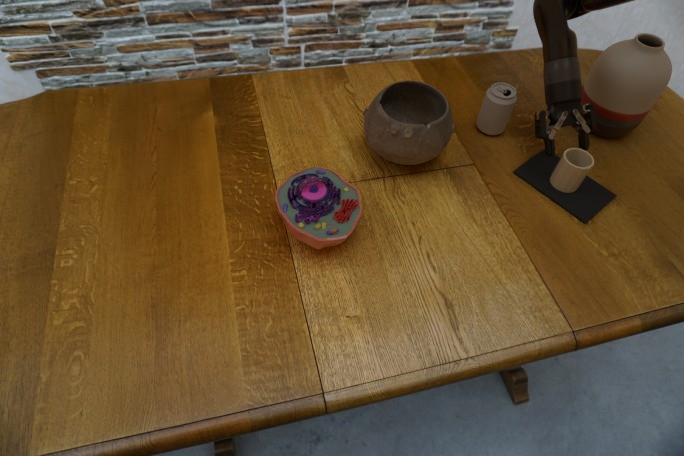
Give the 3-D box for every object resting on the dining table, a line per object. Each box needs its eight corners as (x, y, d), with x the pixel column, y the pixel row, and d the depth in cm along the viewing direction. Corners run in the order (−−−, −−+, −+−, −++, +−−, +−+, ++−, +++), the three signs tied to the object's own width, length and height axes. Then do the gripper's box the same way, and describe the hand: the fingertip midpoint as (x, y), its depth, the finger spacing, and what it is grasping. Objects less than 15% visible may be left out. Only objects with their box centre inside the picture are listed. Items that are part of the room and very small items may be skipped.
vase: (567, 134, 120) (612, 52, 101) (569, 96, 130) (610, 15, 111) (635, 149, 117) (695, 68, 99) (632, 110, 127) (685, 29, 108)
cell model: (297, 275, 92) (295, 242, 83) (269, 203, 103) (263, 167, 94) (374, 250, 96) (380, 216, 87) (339, 184, 107) (340, 147, 98)
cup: (584, 184, 109) (600, 159, 102) (567, 197, 106) (583, 173, 100) (560, 168, 112) (574, 143, 105) (543, 180, 109) (557, 156, 103)
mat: (615, 196, 107) (617, 195, 107) (584, 224, 102) (586, 222, 102) (544, 149, 116) (545, 148, 116) (512, 172, 111) (513, 170, 111)
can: (499, 141, 118) (514, 102, 108) (471, 130, 120) (484, 92, 110) (507, 124, 122) (523, 86, 112) (480, 115, 124) (493, 76, 114)
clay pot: (411, 112, 123) (420, 63, 111) (462, 160, 113) (479, 110, 101) (345, 139, 116) (347, 89, 104) (393, 193, 106) (402, 144, 94)
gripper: (544, 82, 98) (550, 157, 101) (602, 73, 101) (606, 148, 103) (523, 87, 105) (530, 158, 108) (578, 80, 108) (582, 149, 111)
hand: (567, 153), depth 106 cm, fingers open, 8 cm apart
